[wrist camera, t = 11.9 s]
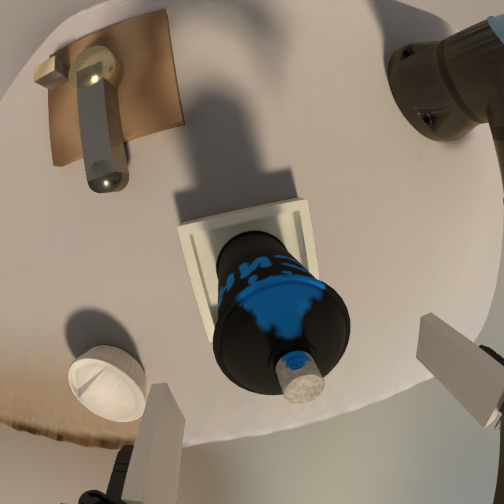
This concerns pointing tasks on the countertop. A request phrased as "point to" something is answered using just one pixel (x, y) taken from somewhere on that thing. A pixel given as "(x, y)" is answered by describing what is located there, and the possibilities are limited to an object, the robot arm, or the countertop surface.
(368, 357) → the countertop surface
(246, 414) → the countertop surface
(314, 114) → the countertop surface
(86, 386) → the ramekin
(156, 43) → the crank base
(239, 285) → the aerosol can
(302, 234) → the tray
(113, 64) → the crank lever
